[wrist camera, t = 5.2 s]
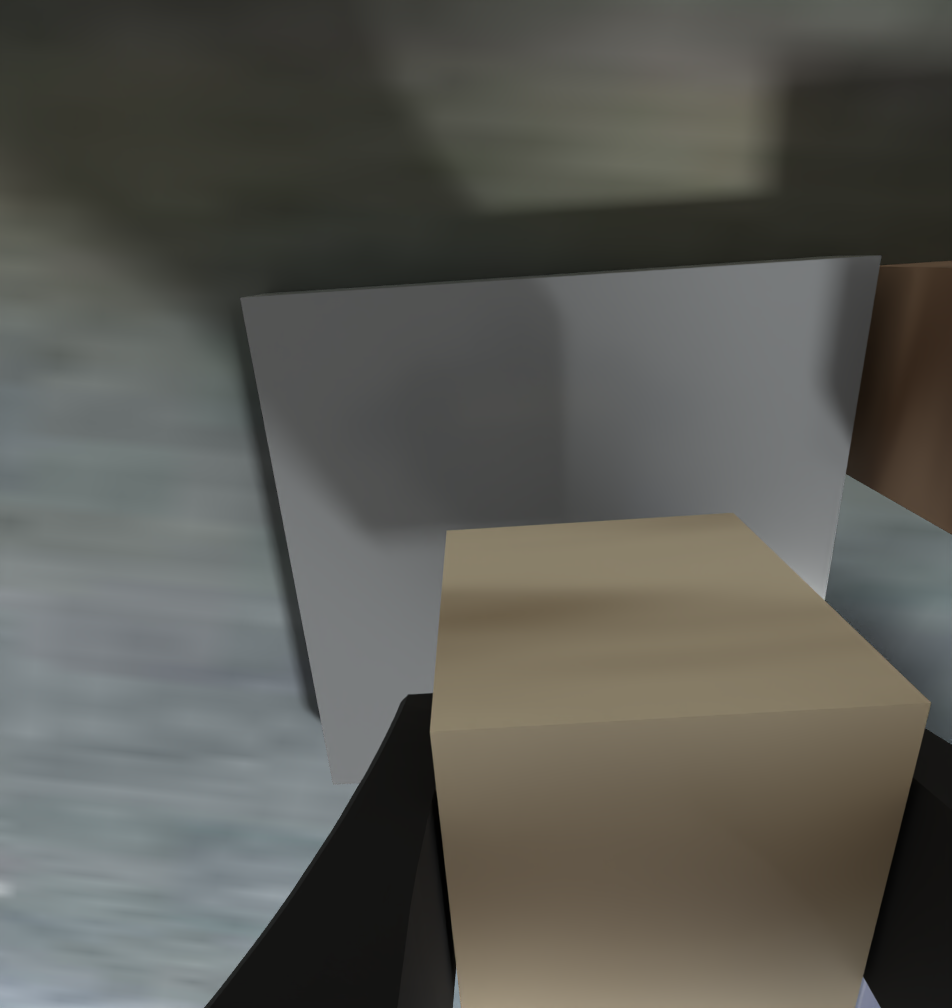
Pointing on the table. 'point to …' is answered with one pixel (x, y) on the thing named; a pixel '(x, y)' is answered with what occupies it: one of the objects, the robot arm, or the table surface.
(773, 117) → the table surface
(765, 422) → the plate
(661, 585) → the maple block
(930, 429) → the walnut block
